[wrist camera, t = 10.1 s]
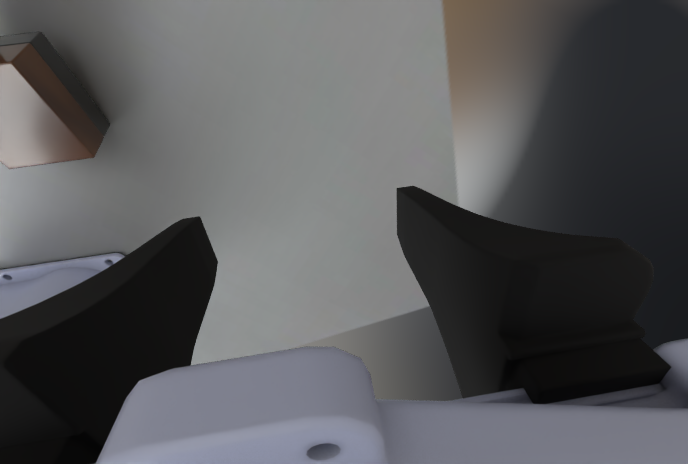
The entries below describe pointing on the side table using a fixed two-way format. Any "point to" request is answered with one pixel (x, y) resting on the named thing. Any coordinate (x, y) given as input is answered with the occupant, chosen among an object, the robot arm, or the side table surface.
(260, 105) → the side table surface
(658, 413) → the robot arm
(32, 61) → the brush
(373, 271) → the side table surface
